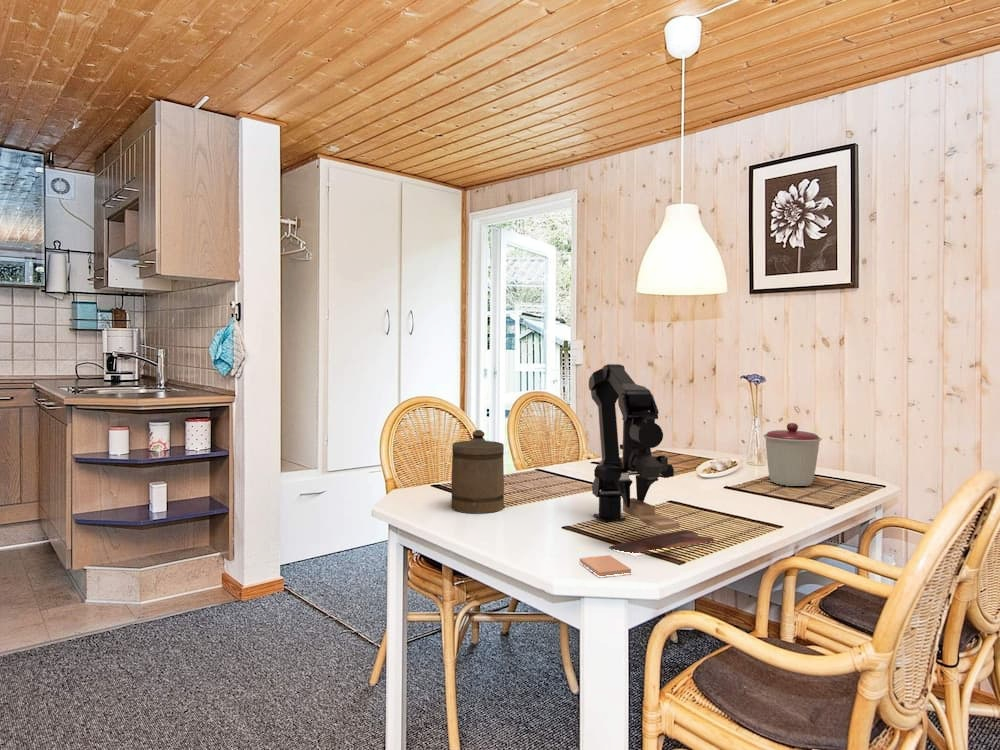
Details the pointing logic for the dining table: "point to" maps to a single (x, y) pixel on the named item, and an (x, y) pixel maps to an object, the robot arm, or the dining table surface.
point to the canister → (792, 456)
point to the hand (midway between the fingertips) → (633, 506)
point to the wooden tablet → (662, 541)
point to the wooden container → (477, 475)
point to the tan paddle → (649, 515)
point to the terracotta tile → (605, 565)
